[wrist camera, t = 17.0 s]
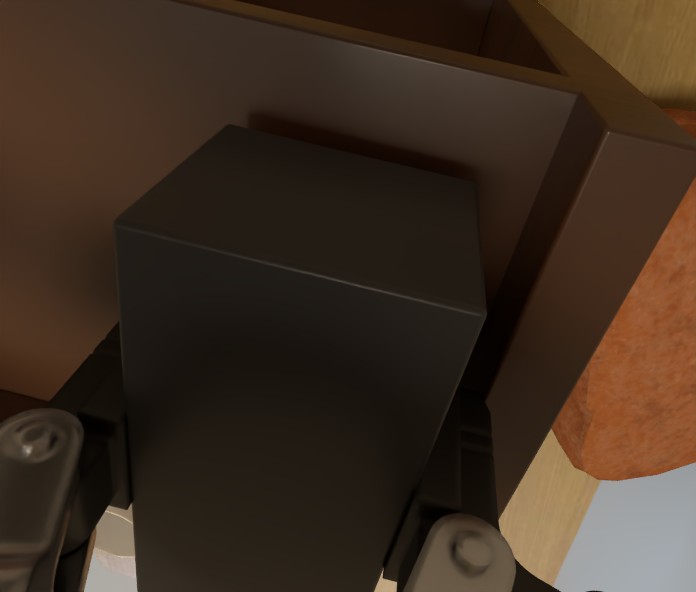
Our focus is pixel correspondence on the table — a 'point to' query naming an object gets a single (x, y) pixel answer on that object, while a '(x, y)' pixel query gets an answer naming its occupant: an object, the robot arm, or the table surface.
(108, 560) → the table surface
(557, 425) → the bread
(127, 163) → the rack
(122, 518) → the cup
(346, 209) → the black rectangular block
